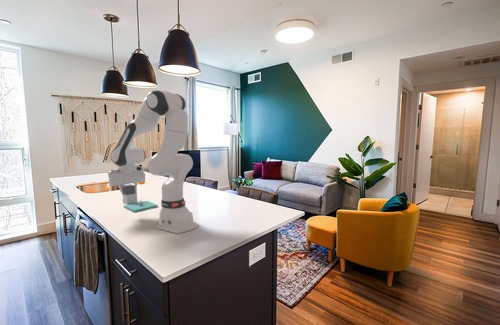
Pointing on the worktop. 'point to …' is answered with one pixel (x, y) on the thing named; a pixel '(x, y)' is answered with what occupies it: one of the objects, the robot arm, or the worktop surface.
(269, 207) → the worktop surface
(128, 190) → the knob
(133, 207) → the board
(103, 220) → the worktop surface
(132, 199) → the supplement box
